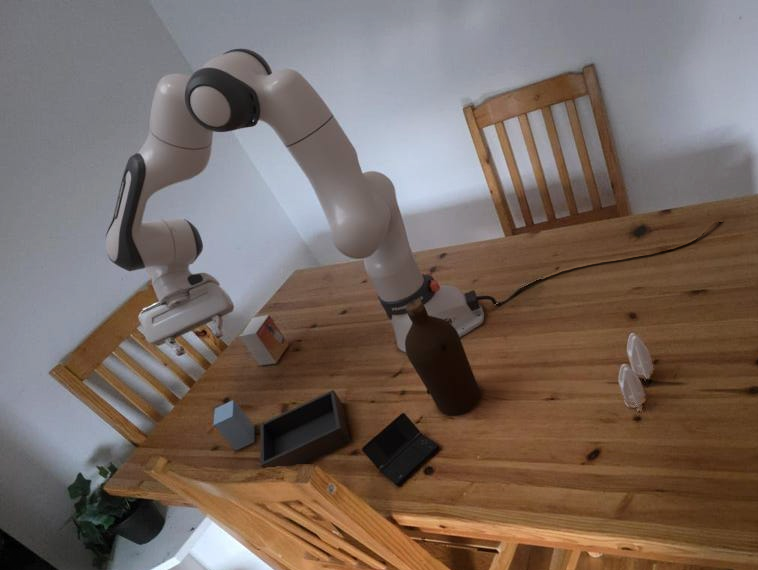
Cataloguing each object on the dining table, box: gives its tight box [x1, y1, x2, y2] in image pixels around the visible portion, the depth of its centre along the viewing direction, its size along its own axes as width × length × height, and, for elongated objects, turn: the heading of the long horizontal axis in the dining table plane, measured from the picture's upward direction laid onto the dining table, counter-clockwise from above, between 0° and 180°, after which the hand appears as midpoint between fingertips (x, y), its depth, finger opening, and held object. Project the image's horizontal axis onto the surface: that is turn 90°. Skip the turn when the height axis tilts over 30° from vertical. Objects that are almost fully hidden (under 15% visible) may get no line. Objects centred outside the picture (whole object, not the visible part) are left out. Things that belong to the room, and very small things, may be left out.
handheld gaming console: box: [361, 412, 440, 487], centre depth 114 cm, size 12×7×10 cm
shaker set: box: [617, 332, 654, 413], centre depth 107 cm, size 12×4×11 cm, turn 155°
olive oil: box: [405, 299, 481, 417], centre depth 116 cm, size 11×11×25 cm
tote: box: [259, 389, 351, 469], centre depth 128 cm, size 18×14×5 cm
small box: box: [238, 314, 290, 366], centre depth 158 cm, size 8×6×10 cm
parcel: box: [213, 399, 255, 451], centre depth 134 cm, size 4×6×9 cm
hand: (200, 345), depth 136 cm, fingers open, 8 cm apart
